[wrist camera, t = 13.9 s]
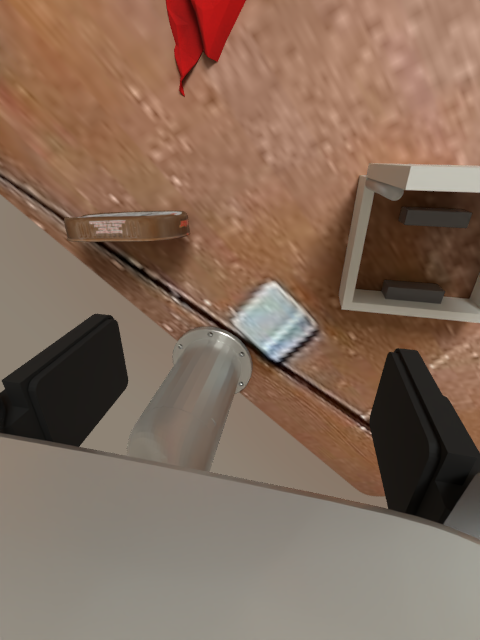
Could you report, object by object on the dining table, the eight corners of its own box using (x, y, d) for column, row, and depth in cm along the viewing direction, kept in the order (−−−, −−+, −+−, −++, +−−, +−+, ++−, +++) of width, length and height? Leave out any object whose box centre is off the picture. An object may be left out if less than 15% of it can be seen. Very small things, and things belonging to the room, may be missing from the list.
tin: (95, 232, 43) (52, 247, 36) (89, 208, 42) (42, 219, 34) (199, 231, 40) (175, 247, 33) (197, 205, 39) (170, 215, 31)
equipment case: (475, 307, 38) (600, 418, 21) (338, 294, 40) (357, 385, 24) (532, 166, 31) (780, 174, 14) (362, 162, 33) (411, 166, 17)
